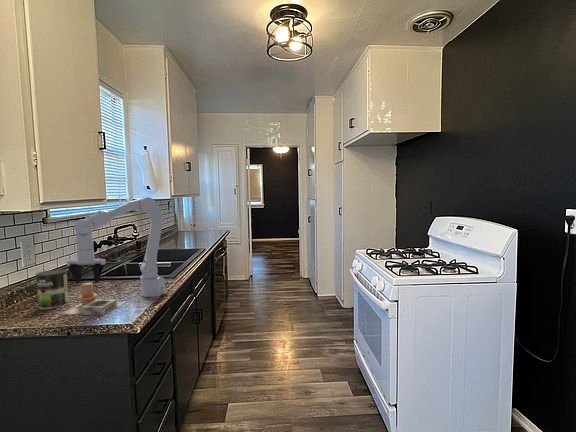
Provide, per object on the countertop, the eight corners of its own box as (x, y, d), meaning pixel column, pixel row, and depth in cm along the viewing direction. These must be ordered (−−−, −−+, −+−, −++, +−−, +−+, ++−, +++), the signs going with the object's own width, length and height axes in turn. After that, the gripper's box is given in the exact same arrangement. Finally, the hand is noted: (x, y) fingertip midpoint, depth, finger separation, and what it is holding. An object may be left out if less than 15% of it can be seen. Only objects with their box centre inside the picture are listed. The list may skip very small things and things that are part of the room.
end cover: (102, 302, 131) (100, 282, 131) (85, 308, 125) (84, 287, 125) (91, 300, 134) (89, 281, 134) (74, 306, 128) (73, 285, 128)
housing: (126, 304, 133) (125, 295, 132) (103, 317, 119) (102, 308, 118) (86, 303, 135) (85, 295, 134) (59, 316, 121) (58, 307, 120)
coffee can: (56, 309, 129) (53, 275, 128) (32, 309, 129) (29, 275, 128) (74, 300, 139) (72, 268, 138) (52, 300, 140) (49, 269, 138)
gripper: (108, 247, 133) (111, 279, 134) (74, 247, 133) (76, 279, 134) (98, 250, 126) (101, 283, 127) (62, 251, 126) (65, 284, 127)
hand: (88, 282), depth 130 cm, fingers open, 7 cm apart
